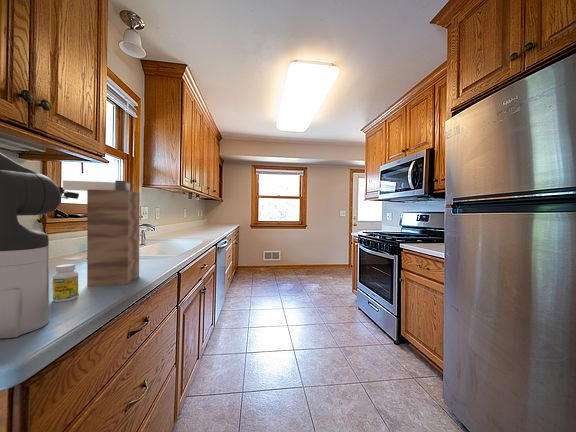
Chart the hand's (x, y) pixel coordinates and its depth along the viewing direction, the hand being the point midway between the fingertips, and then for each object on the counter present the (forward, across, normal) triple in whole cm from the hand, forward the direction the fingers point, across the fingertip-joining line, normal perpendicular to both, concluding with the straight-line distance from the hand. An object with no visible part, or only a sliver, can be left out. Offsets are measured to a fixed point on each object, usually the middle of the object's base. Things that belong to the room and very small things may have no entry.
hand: (71, 193), depth 91 cm
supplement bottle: (+18, -21, +33) cm, 43 cm away
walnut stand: (+23, -4, +30) cm, 38 cm away
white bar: (+13, -10, -1) cm, 16 cm away
